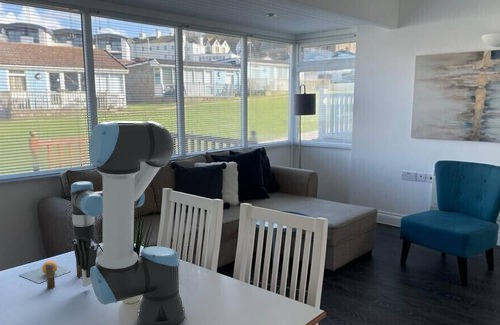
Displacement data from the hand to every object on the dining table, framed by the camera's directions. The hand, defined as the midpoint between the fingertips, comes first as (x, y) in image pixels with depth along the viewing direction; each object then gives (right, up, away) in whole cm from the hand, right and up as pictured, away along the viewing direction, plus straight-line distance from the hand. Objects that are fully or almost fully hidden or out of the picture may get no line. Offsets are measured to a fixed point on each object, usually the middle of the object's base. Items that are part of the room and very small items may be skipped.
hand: (87, 284), depth 153 cm
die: (-3, +2, +28) cm, 28 cm away
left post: (-14, -2, +2) cm, 15 cm away
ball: (-21, +3, +13) cm, 25 cm away
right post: (-8, 0, +12) cm, 15 cm away
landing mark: (-23, 0, +14) cm, 27 cm away
